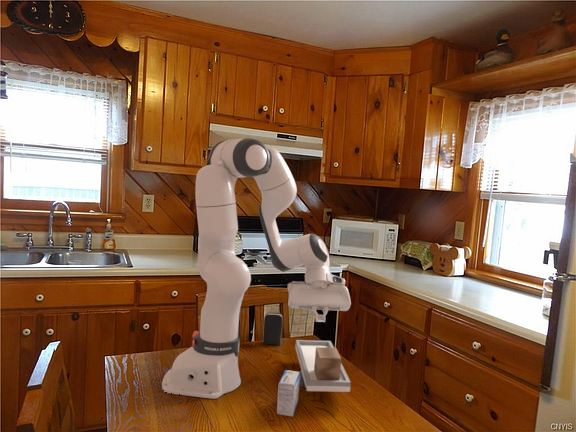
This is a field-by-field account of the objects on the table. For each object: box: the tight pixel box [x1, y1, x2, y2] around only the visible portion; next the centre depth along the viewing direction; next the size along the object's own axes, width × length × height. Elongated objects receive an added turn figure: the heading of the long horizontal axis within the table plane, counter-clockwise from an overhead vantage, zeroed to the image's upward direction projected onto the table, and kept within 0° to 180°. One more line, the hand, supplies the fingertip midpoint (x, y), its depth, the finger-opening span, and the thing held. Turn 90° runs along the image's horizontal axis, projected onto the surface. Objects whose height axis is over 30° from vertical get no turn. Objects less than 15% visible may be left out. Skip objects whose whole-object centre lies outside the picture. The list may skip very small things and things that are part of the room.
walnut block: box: [314, 347, 342, 380], centre depth 115 cm, size 6×7×7 cm
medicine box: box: [276, 369, 300, 417], centre depth 108 cm, size 8×4×9 cm, turn 168°
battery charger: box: [262, 312, 284, 346], centre depth 150 cm, size 7×4×11 cm, turn 91°
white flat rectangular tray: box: [294, 339, 352, 393], centre depth 124 cm, size 12×28×3 cm, turn 5°
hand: (320, 321), depth 127 cm, fingers closed
